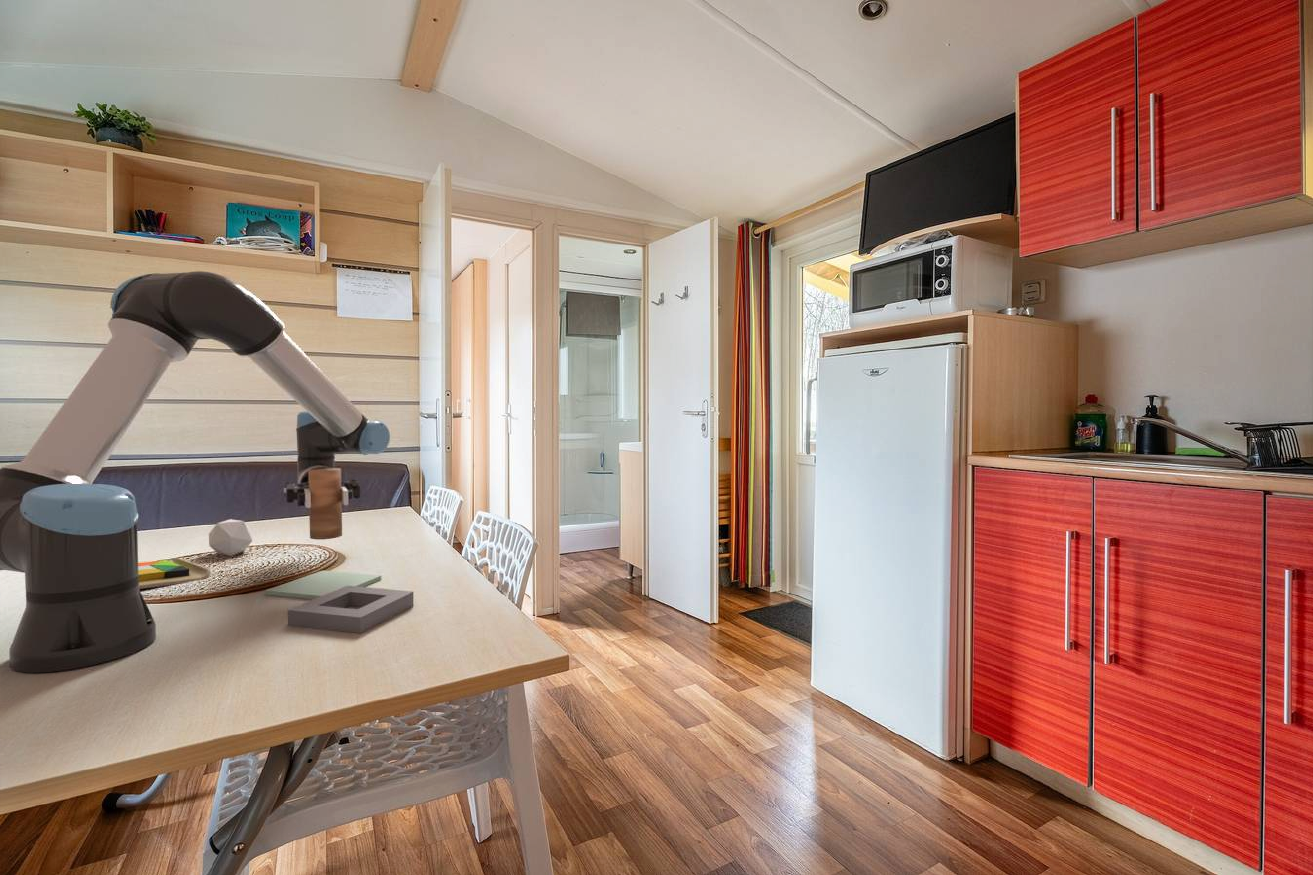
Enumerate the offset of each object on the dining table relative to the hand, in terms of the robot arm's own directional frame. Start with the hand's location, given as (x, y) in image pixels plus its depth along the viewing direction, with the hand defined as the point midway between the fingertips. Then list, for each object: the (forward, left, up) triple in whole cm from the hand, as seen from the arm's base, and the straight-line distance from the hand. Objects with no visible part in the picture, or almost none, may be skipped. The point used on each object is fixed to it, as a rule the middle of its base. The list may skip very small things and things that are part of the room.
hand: (327, 499), depth 112 cm
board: (+3, +4, -18) cm, 19 cm away
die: (+19, +44, -18) cm, 51 cm away
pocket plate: (-9, -12, -18) cm, 23 cm away
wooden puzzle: (-3, +42, -19) cm, 46 cm away
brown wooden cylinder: (+4, +4, -8) cm, 10 cm away
